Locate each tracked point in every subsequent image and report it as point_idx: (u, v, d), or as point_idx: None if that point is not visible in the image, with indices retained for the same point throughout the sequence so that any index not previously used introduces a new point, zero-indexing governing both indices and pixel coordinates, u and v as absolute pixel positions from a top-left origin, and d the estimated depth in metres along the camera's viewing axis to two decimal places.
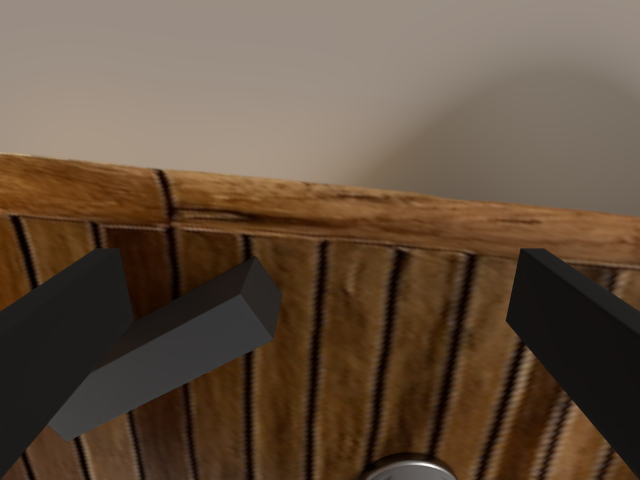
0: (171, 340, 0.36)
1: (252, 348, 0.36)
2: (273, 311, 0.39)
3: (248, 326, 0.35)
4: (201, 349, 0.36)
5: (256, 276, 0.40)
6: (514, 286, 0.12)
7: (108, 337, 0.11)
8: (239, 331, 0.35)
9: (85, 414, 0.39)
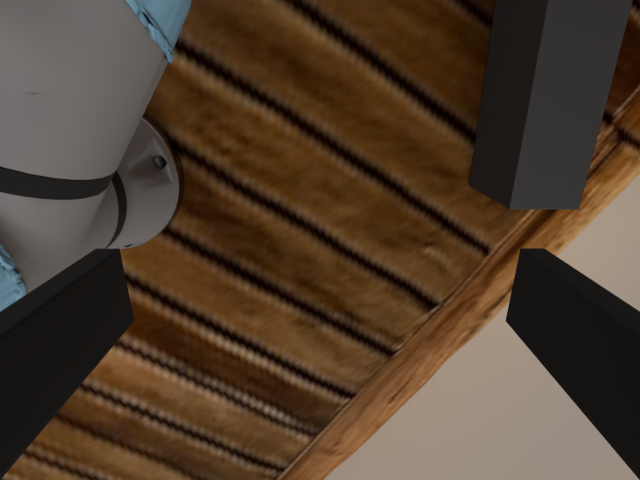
0: (595, 99, 0.28)
1: (516, 182, 0.30)
2: None
3: (542, 195, 0.30)
4: (559, 124, 0.28)
5: None
6: (514, 286, 0.12)
7: (108, 337, 0.11)
8: (544, 182, 0.30)
9: None
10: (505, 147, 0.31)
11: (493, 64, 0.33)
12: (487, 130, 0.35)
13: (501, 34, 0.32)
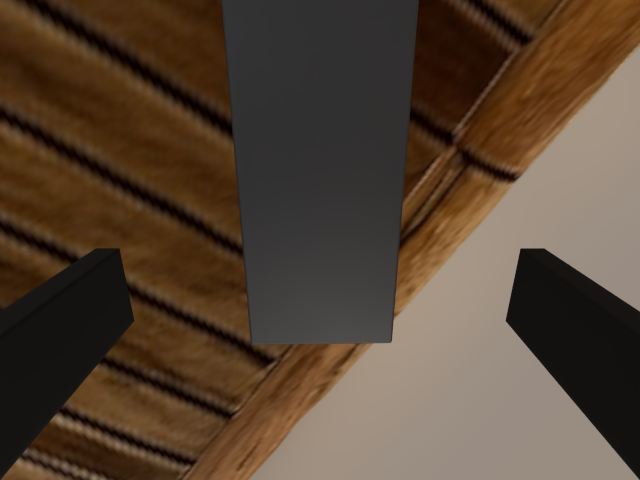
0: (380, 126, 0.12)
1: (251, 296, 0.14)
2: None
3: (310, 319, 0.15)
4: (311, 182, 0.13)
5: None
6: (514, 286, 0.12)
7: (109, 337, 0.11)
8: (309, 296, 0.14)
9: None
10: None
11: None
12: None
13: None
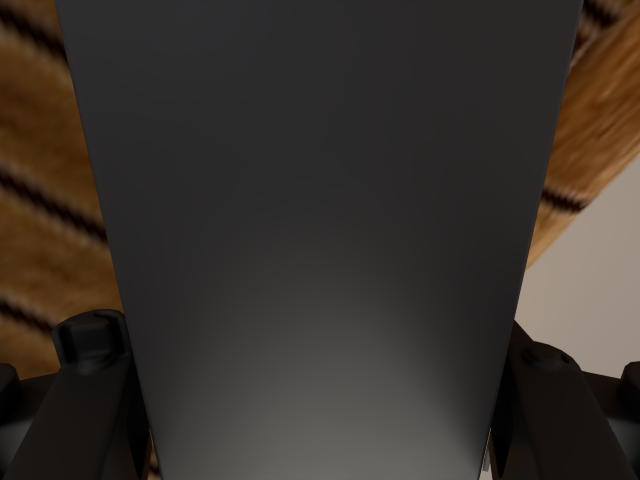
0: (473, 179, 0.05)
1: None
2: None
3: None
4: (298, 306, 0.05)
5: None
6: None
7: None
8: None
9: None
10: None
11: None
12: None
13: None
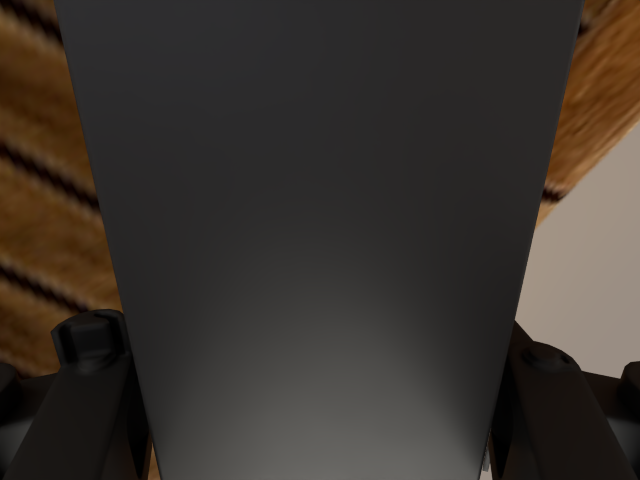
0: (474, 179, 0.05)
1: None
2: None
3: None
4: (298, 306, 0.05)
5: None
6: None
7: None
8: None
9: None
10: None
11: None
12: None
13: None
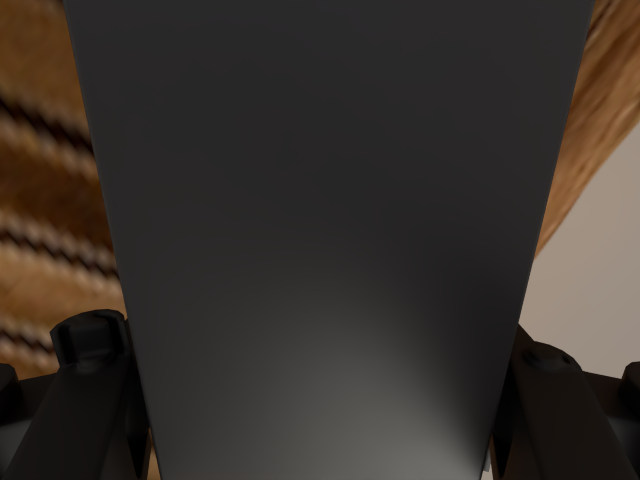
0: (480, 181, 0.05)
1: None
2: None
3: None
4: (301, 307, 0.05)
5: None
6: None
7: None
8: None
9: None
10: None
11: None
12: None
13: None
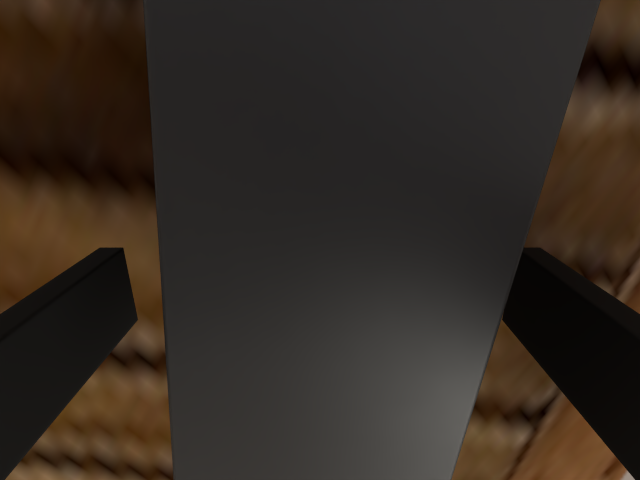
0: (485, 169, 0.05)
1: (180, 458, 0.07)
2: None
3: None
4: (318, 270, 0.06)
5: None
6: None
7: (113, 336, 0.11)
8: (291, 467, 0.08)
9: None
10: None
11: None
12: None
13: None
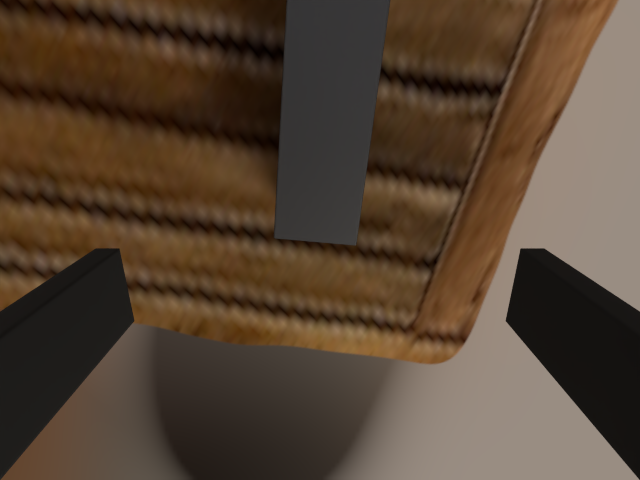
0: (358, 116, 0.23)
1: (278, 207, 0.25)
2: None
3: (310, 225, 0.25)
4: (319, 143, 0.24)
5: None
6: (514, 286, 0.12)
7: (108, 337, 0.11)
8: (311, 210, 0.25)
9: None
10: None
11: None
12: None
13: None
